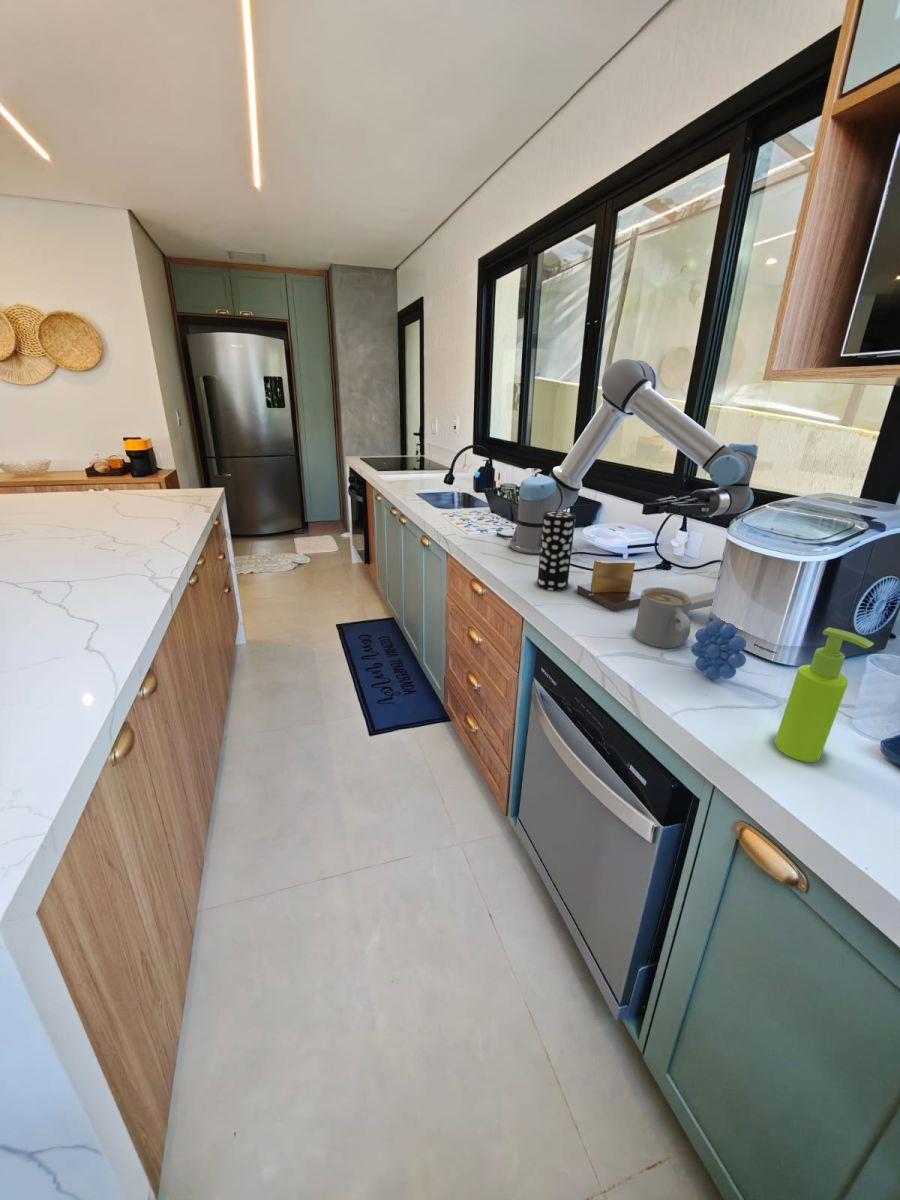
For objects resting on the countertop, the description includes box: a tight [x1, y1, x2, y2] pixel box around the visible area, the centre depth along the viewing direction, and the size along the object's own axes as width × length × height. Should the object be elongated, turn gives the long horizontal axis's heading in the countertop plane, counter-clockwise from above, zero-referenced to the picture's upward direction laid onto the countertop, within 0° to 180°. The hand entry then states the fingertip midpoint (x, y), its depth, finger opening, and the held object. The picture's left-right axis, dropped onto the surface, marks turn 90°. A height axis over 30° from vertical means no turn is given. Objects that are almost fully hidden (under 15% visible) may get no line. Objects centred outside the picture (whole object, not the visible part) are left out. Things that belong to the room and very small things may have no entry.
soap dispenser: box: [774, 626, 875, 763], centre depth 72 cm, size 6×7×20 cm
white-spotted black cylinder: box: [536, 510, 577, 592], centre depth 136 cm, size 8×8×20 cm
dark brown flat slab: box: [576, 581, 641, 612], centre depth 132 cm, size 14×14×2 cm
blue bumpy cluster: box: [690, 619, 747, 680], centre depth 93 cm, size 12×7×12 cm, turn 17°
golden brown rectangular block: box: [590, 559, 636, 592], centre depth 130 cm, size 10×2×8 cm, turn 95°
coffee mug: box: [633, 586, 692, 649], centre depth 108 cm, size 13×10×10 cm
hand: (644, 509), depth 130 cm, fingers closed
